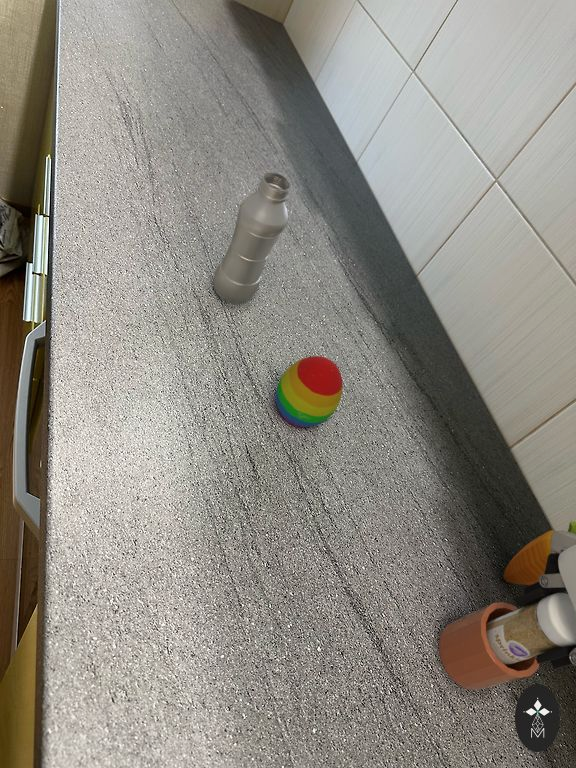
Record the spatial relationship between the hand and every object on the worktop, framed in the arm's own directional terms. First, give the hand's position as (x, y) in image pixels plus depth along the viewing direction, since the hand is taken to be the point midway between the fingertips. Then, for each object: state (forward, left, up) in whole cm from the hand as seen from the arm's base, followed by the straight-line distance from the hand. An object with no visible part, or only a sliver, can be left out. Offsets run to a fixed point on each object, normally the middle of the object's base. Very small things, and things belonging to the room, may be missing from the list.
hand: (537, 628), depth 56 cm
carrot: (-9, -8, -12) cm, 17 cm away
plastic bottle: (+22, -52, -12) cm, 58 cm away
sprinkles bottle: (0, 0, -9) cm, 9 cm away
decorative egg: (+15, -32, -12) cm, 37 cm away
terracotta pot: (0, 0, -12) cm, 12 cm away
